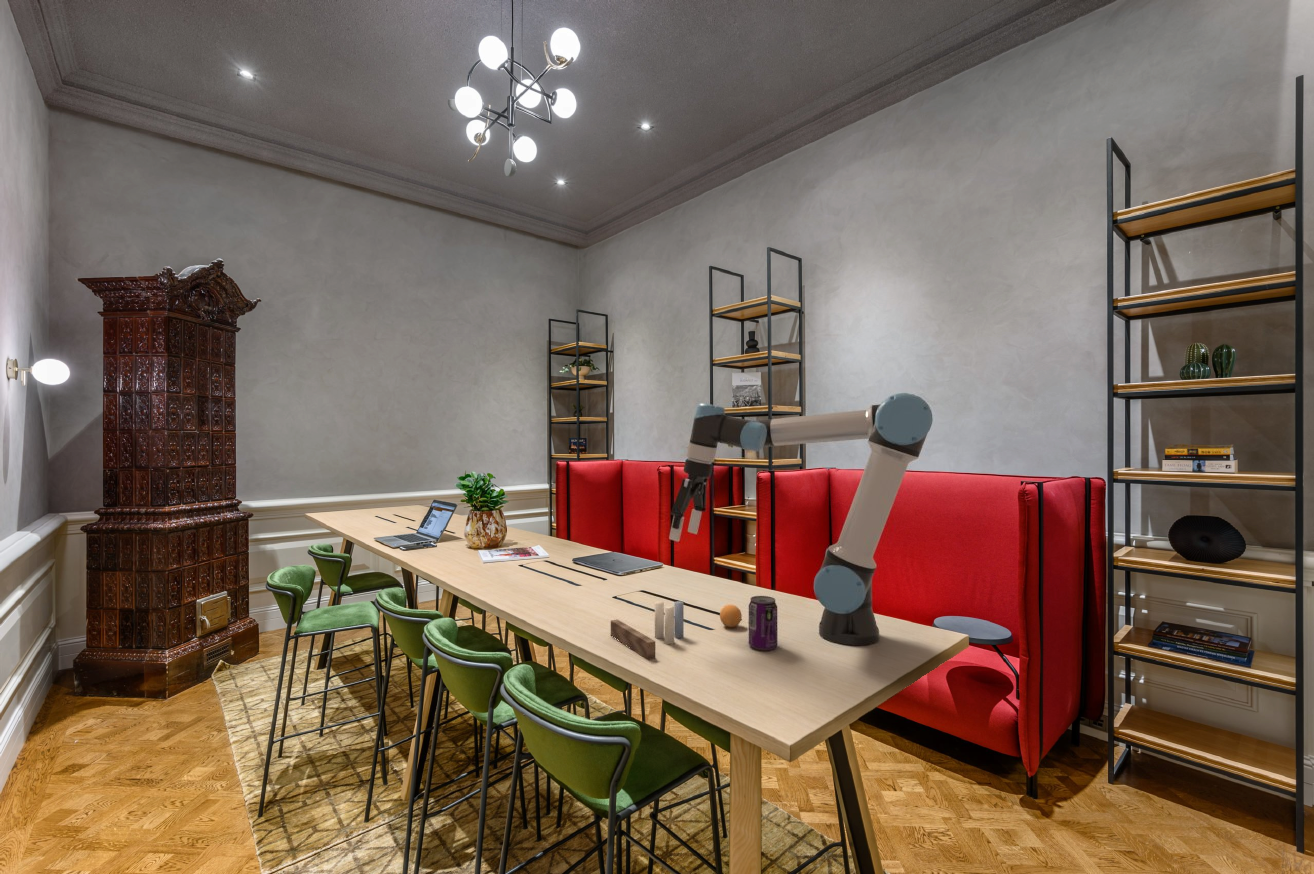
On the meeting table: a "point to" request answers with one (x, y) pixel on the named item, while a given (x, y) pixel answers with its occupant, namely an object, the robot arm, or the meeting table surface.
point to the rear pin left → (669, 625)
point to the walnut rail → (633, 639)
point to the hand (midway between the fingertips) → (683, 536)
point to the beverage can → (763, 623)
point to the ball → (730, 615)
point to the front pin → (678, 619)
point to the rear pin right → (659, 620)
